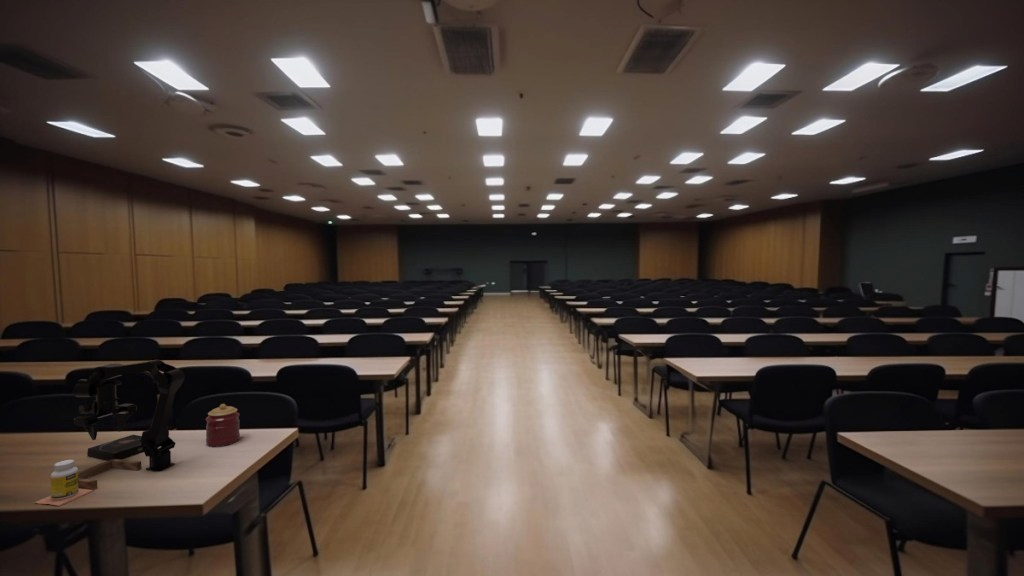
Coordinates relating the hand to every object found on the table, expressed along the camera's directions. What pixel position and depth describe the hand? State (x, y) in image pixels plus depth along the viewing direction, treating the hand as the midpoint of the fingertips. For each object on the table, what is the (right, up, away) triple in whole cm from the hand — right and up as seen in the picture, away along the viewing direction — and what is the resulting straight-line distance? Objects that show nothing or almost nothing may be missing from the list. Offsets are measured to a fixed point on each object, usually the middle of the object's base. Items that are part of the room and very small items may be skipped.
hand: (107, 435), depth 167 cm
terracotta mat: (+6, -14, -22) cm, 27 cm away
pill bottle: (+7, -13, -22) cm, 26 cm away
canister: (+27, -13, +27) cm, 41 cm away
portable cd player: (-8, -13, +16) cm, 22 cm away
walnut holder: (+7, -13, -8) cm, 17 cm away
